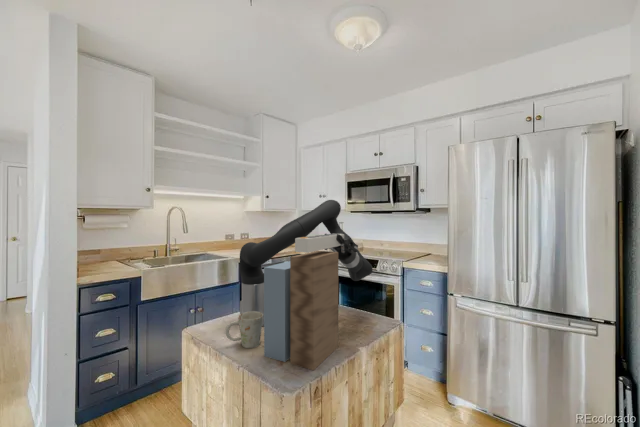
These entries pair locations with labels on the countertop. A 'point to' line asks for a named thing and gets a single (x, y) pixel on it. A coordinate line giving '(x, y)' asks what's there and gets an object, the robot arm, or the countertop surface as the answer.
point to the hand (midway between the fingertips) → (331, 236)
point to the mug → (248, 329)
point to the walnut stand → (313, 308)
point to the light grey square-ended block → (316, 242)
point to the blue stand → (277, 311)
